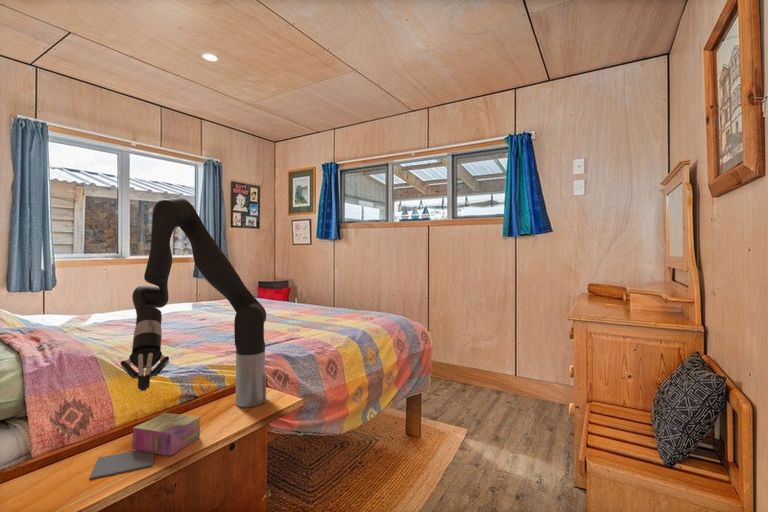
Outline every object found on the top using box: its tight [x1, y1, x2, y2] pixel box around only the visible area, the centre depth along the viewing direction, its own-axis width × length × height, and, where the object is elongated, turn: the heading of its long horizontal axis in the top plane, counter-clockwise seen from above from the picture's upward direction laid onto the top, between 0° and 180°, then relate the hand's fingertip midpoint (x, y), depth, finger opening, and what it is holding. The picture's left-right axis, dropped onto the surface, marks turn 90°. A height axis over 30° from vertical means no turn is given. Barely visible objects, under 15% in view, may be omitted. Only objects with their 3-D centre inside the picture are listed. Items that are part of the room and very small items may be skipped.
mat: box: [88, 450, 155, 481], centre depth 90 cm, size 12×9×1 cm
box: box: [131, 412, 201, 457], centre depth 99 cm, size 10×6×12 cm
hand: (143, 389), depth 108 cm, fingers closed
